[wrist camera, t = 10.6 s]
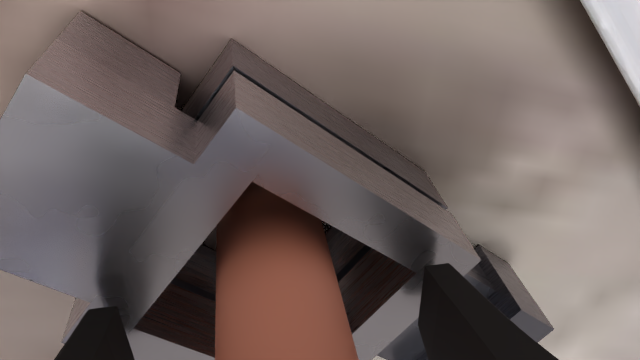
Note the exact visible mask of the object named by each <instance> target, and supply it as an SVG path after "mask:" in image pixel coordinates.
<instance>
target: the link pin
mask: <svg viewBox="0 0 640 360" xmlns="http://www.w3.org/2000/svg"><path fill="white" fill-rule="evenodd" d="M215 360H359V359H358V356H357V352H356V348H355V344H354V341H353V337H352V333H351V329H350V326H349V322H348V318H347V314H346V311H345V307H344V303H343V300H342V296H341V292H340V288H339V285H338V281H337V277H336V273H335V270H334V266H333V262H332V258H331V255H330V251H329V247H328V243H327V240H326V236H325V232H324V228H323V225H322V221H321V219H319V218H317V217H315V216H313V215H312V214H310V213H308V212H306V211H304V210H303V209H301V208H299V207H297V206H295V205H294V204H292V203H290V202H288V201H286V200H285V199H283V198H281V197H279V196H277V195H276V194H274V193H272V192H270V191H268V190H267V189H265V188H263V187H261V186H259V185H258V184H256V183H254V182H251V183H250V185H249V186H248V187H247V188H246V190H245V191H244V192H243V193H242V194H241V196H240V197H239V198H238V199H237V201H236V202H235V203H234V204H233V206H232V207H231V208H230V209H229V211H228V212H227V213H226V214H225V215H224V217H223V218H222V219H221V220H220V222H219V223H218V224H217V241H216V309H215Z"/></svg>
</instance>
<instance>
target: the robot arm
mask: <svg viewBox="0 0 640 360" xmlns="http://www.w3.org/2000/svg"><path fill="white" fill-rule="evenodd" d="M418 327H419V331H420V334H421V337H422V341H423V344H424V347H425V350H426V353H427V356H428V360H558V359H557V358H556V357H554V356H553V355H552V354H551V353H549V352H548V351H547V350H546V349H544V348H543V347H542V346H541V345H539V344H538V343H537V342H536V341H534V340H533V339H532V338H531V337H530V336H528V335H527V334H526V333H525V332H524V331H522V330H521V329H520V328H519V327H518V326H517V325H516V324H514V323H513V322H512V321H511V320H510V319H509V318H508V317H506V316H505V315H504V314H503V313H502V312H501V311H500V310H499V309H497V308H496V307H495V306H494V305H493V304H492V303H491V302H490V301H489V300H488V299H487V298H486V297H484V296H483V295H482V294H481V293H480V292H479V291H478V290H477V289H476V288H475V287H474V286H473V285H472V284H471V283H470V282H469V281H468V280H466V279H465V278H464V277H463V276H462V275H461V274H460V273H459V272H458V271H457V270H456V269H455V268H454V267H453V266H452V265H451V264H449V263H444V264H437V265H429V266H425V267H424V276H423V284H422V293H421V301H420V309H419V318H418ZM54 360H135V359H134V356H133V353H132V350H131V347H130V344H129V341H128V338H127V335H126V332H125V329H124V326H123V323H122V320H121V316H120V313H119V310H118V307H117V306H111V307H103V308H95V309H89V310H88V311H87V312H86V313H85V314H84V316H83V317H82V319H81V320H80V322H79V323H78V325H77V326H76V328H75V329H74V331H73V333H72V334H71V336H70V337H69V339H68V340H67V342H66V343H65V345H64V346H63V348H62V349H61V350H60V352H59V353H58V355H57V356H56V358H55V359H54Z"/></svg>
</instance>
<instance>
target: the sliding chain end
mask: <svg viewBox="0 0 640 360" xmlns="http://www.w3.org/2000/svg"><path fill="white" fill-rule="evenodd" d="M180 75H181V73H179V72H178V71H176V70H175V69H173V68H171V67H170V66H168V65H167V64H165V63H163V62H162V61H160V60H158V59H157V58H155V57H154V56H152V55H150V54H149V53H147V52H146V51H144V50H142V49H141V48H139V47H138V46H136V45H134V44H133V43H131V42H129V41H128V40H126V39H125V38H123V37H121V36H120V35H118V34H117V33H115V32H113V31H112V30H110V29H109V28H107V27H105V26H104V25H102V24H101V23H99V22H97V21H96V20H94V19H92V18H91V17H89V16H88V15H86V14H84V13H83V12H81V11H80V12H79V13H78V14H77V15H76V17H75V18H74V19H73V20H72V21H71V22H70V23H69V25H68V26H67V27H66V28H65V29H64V30H63V31H62V33H61V34H60V35H59V36H58V37H57V38H56V39H55V41H54V42H53V43H52V44H51V45H50V46H49V47H48V49H47V50H46V51H45V52H44V53H43V54H42V55H41V57H40V58H39V59H38V60H37V61H36V62H35V63H34V65H33V66H32V67H31V68H30V69H29V70H28V71H27V73H26V74H25V76H24V77H23V79H22V81H21V83H20V85H19V87H18V88H17V90H16V92H15V94H14V96H13V97H12V99H11V101H10V103H9V105H8V107H7V108H6V110H5V112H4V114H3V116H2V118H1V119H0V270H3V271H5V272H8V273H11V274H14V275H16V276H19V277H22V278H24V279H27V280H30V281H33V282H35V283H38V284H41V285H43V286H46V287H49V288H52V289H54V290H57V291H60V292H62V293H65V294H68V295H71V296H73V297H76V299H75V302H74V305H73V308H72V311H71V314H70V317H69V321H68V324H67V327H66V330H65V333H64V336H63V339H62V342H61V343H64V344H65V343H66V342H67V340H68V339H69V337H70V336H71V334H72V333H73V331H74V329H75V328H76V326H77V325H78V323H79V322H80V320H81V319H82V317H83V316H84V314H85V313H86V312H87V311H88V310H89V309H95V308H103V307H111V306H117V307H118V310H119V313H120V316H121V320H122V323H123V326H124V329H125V332H126V335H127V338H128V341H129V344H130V347H131V350H132V353H133V356H134V359H135V360H215V309H216V302H214V301H212V300H210V299H207V298H205V297H202V296H200V295H198V294H195V293H193V292H190V291H188V290H185V289H183V288H181V287H178V286H176V285H173V284H171V283H170V282H171V281H172V280H173V279H174V277H175V276H176V275H177V274H178V272H179V271H180V270H181V269H182V267H183V266H184V265H185V264H186V262H187V261H188V260H189V259H190V257H191V256H192V255H193V254H194V253H195V251H196V250H197V249H198V248H199V246H200V245H201V244H202V243H203V241H204V240H205V239H206V238H207V236H208V235H209V234H210V233H211V232H212V230H213V229H214V228H215V227H216V225H217V224H218V223H219V222H220V220H221V219H222V218H223V217H224V215H225V214H226V213H227V212H228V211H229V209H230V208H231V207H232V206H233V204H234V203H235V202H236V201H237V199H238V198H239V197H240V196H241V194H242V193H243V192H244V191H245V190H246V188H247V187H248V186H249V185H250V183H251V182H254V183H256V184H258V185H259V186H261V187H263V188H265V189H267V190H268V191H270V192H272V193H274V194H276V195H277V196H279V197H281V198H283V199H285V200H286V201H288V202H290V203H292V204H294V205H295V206H297V207H299V208H301V209H303V210H304V211H306V212H308V213H310V214H312V215H313V216H315V217H317V218H319V219H321V220H322V221H324V222H326V223H328V224H330V225H331V226H333V227H335V228H337V229H339V230H340V231H342V232H344V233H346V234H348V235H349V236H351V237H353V238H355V239H357V240H358V241H360V242H362V243H364V244H366V245H367V246H369V247H371V249H370V250H369V251H368V252H367V253H366V254H365V255H364V256H363V257H362V258H361V259H360V260H359V262H358V263H357V264H356V265H355V266H354V267H353V268H352V269H351V270H350V271H349V272H348V273H347V274H346V275H345V276H344V277H343V278H342V279H341V280H340V281H339V282H338V285H339V288H340V292H341V296H342V300H343V303H344V307H345V311H346V314H347V318H348V322H349V326H350V329H351V333H352V337H353V341H354V344H355V348H356V352H357V356H358V359H359V360H372V359H373V358H374V357H375V356H376V355H378V354H379V353H380V352H381V351H382V350H383V349H384V348H385V347H386V346H387V345H389V344H390V343H391V342H392V341H393V340H394V339H395V338H396V337H397V336H398V335H400V334H401V333H402V332H403V331H404V330H405V329H406V328H407V327H408V326H409V325H411V324H412V323H413V322H414V321H415V320H416V319H417V318H418V317H419V309H420V301H421V293H422V284H423V276H424V267H425V266H429V265H437V264H444V263H449V264H451V265H452V266H453V267H454V268H455V269H456V270H457V271H458V272H459V273H460V274H461V275H462V276H464V275H466V274H467V273H468V272H469V271H470V270H471V269H472V268H473V267H474V266H475V265H477V264H478V263H479V262H480V261H481V259H480V257H479V256H478V254H477V253H476V251H475V249H474V248H473V246H472V245H471V243H470V242H469V240H468V238H467V237H466V235H465V234H464V232H463V230H462V229H461V227H460V226H459V224H458V223H457V221H456V219H455V218H454V216H453V215H452V214H451V213H450V212H448V211H447V210H445V209H444V208H442V207H441V206H439V205H438V204H436V203H435V202H433V201H432V200H430V199H429V198H427V197H426V196H424V195H422V194H421V193H419V192H418V191H416V190H415V189H413V188H412V187H410V186H409V185H407V184H406V183H404V182H403V181H401V180H400V179H398V178H397V177H395V176H394V175H392V174H391V173H389V172H387V171H386V170H384V169H383V168H381V167H380V166H378V165H377V164H375V163H374V162H372V161H371V160H369V159H368V158H366V157H365V156H363V155H362V154H360V153H359V152H357V151H356V150H354V149H353V148H351V147H349V146H348V145H346V144H345V143H343V142H342V141H340V140H339V139H337V138H336V137H334V136H333V135H331V134H330V133H328V132H327V131H325V130H324V129H322V128H321V127H319V126H318V125H316V124H315V123H313V122H311V121H310V120H308V119H307V118H305V117H304V116H302V115H301V114H299V113H298V112H296V111H295V110H293V109H292V108H290V107H289V106H287V105H286V104H284V103H283V102H281V101H280V100H278V99H276V98H275V97H273V96H272V95H270V94H269V93H267V92H266V91H264V90H263V89H261V88H260V87H258V86H257V85H255V84H254V83H252V82H251V81H249V80H248V79H246V78H245V77H243V76H242V75H240V74H238V73H237V72H235V71H233V73H232V74H231V75H230V77H229V78H228V79H227V81H226V82H225V84H224V85H223V86H222V88H221V89H220V91H219V92H218V93H217V95H216V96H215V98H214V99H213V100H212V102H211V103H210V104H209V106H208V107H207V109H206V110H205V111H204V113H203V114H202V116H201V117H200V118H199V120H198V121H197V120H195V119H194V118H192V117H190V116H188V115H187V114H185V113H183V112H182V111H180V110H178V109H176V108H175V103H176V97H177V92H178V86H179V81H180Z"/></svg>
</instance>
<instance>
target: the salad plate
mask: <svg viewBox="0 0 640 360" xmlns="http://www.w3.org/2000/svg"><path fill="white" fill-rule="evenodd" d="M580 1H581V3H582V5H583V6H584V8H585V10H586V12H587V13H588V15H589V17H590V19H591V20H592V22H593V24H594V26H595V28H596V29H597V31H598V33H599V35H600V36H601V38H602V40H603V42H604V43H605V45H606V47H607V49H608V51H609V52H610V54H611V56H612V58H613V60H614V62H615V63H616V65H617V67H618V69H619V71H620V72H621V74H622V76H623V78H624V80H625V81H626V83H627V85H628V87H629V89H630V90H631V92H632V94H633V96H634V98H635V99H636V101H637V103H638V105H639V107H640V0H580Z"/></svg>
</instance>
